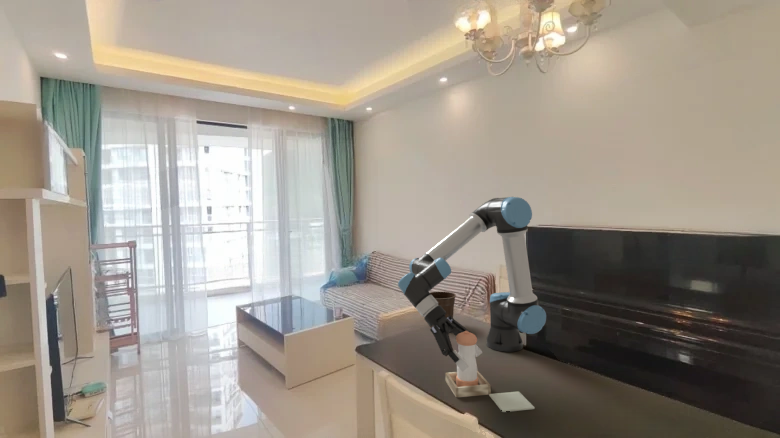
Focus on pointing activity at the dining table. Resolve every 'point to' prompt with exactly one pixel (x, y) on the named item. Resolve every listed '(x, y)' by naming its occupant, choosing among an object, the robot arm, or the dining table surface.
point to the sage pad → (511, 401)
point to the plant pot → (445, 301)
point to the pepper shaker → (467, 359)
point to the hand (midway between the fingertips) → (473, 361)
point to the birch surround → (468, 390)
